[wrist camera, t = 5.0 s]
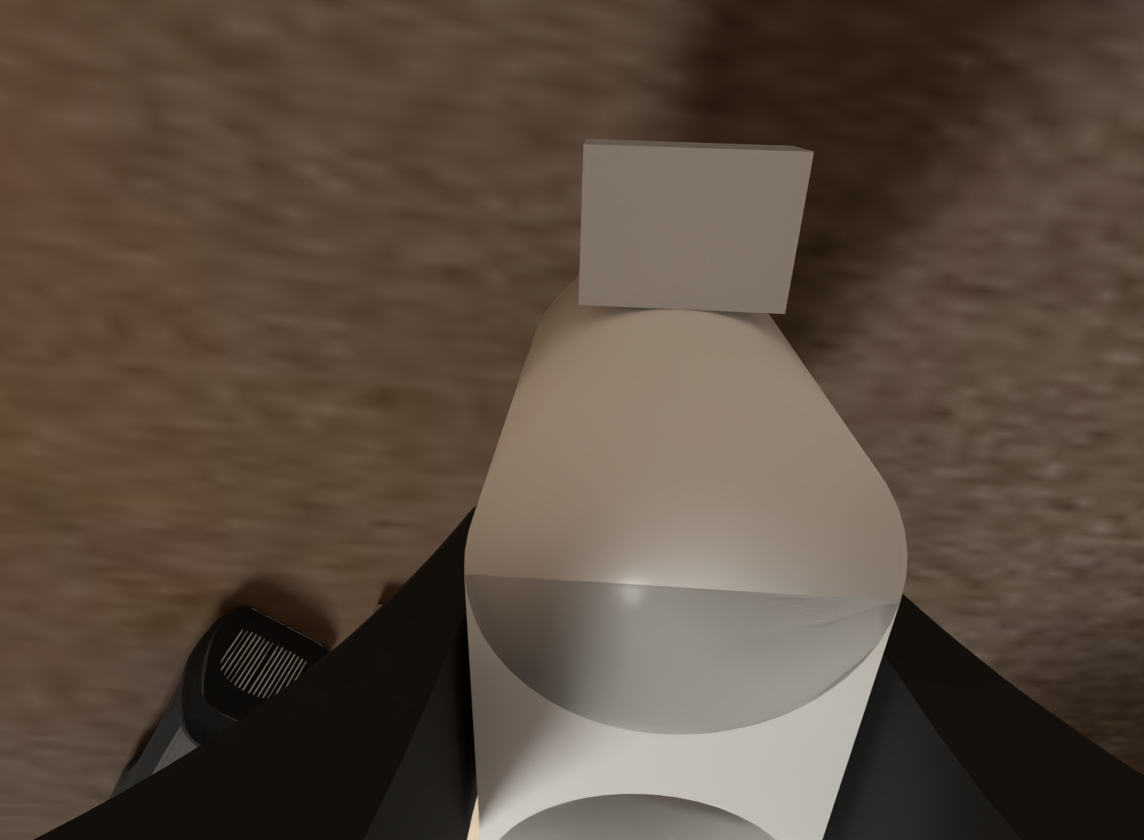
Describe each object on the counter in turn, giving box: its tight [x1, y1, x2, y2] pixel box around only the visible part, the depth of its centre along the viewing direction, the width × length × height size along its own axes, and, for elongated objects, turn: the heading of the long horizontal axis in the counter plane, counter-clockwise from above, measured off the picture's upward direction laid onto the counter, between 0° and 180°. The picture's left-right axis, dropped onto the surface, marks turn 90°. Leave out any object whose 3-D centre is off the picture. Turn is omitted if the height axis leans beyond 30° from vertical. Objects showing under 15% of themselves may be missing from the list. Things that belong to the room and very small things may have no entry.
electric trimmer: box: [110, 607, 327, 799], centre depth 22 cm, size 4×16×3 cm, turn 144°
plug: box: [464, 139, 907, 840], centre depth 9 cm, size 11×4×5 cm, turn 178°
